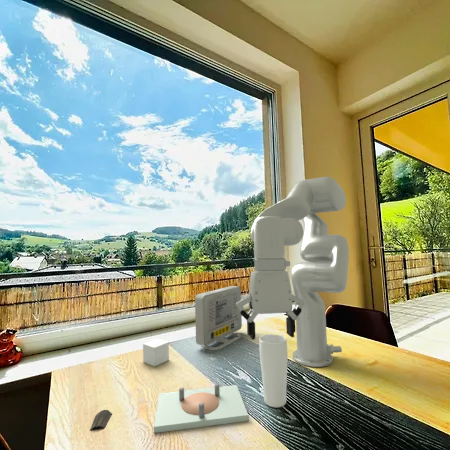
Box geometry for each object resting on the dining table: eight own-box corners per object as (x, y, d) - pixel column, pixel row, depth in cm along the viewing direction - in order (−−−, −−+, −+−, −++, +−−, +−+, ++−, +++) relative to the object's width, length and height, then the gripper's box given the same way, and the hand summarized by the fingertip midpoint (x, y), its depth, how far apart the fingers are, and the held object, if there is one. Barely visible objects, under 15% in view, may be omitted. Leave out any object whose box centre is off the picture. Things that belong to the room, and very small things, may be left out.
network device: (230, 330, 122) (229, 285, 124) (247, 333, 117) (245, 286, 119) (191, 349, 102) (190, 294, 103) (209, 354, 96) (208, 296, 98)
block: (89, 437, 58) (88, 428, 58) (96, 417, 64) (95, 410, 64) (107, 432, 59) (106, 424, 59) (113, 413, 65) (112, 406, 64)
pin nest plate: (236, 389, 73) (236, 375, 73) (248, 420, 60) (247, 403, 60) (159, 398, 69) (159, 383, 70) (153, 432, 57) (153, 414, 57)
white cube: (143, 362, 92) (142, 343, 92) (157, 356, 96) (157, 338, 97) (154, 366, 88) (154, 347, 88) (169, 360, 93) (168, 342, 93)
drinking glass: (258, 395, 69) (256, 334, 70) (284, 393, 70) (282, 333, 71) (264, 411, 63) (262, 344, 64) (293, 409, 63) (290, 342, 64)
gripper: (296, 264, 73) (298, 330, 72) (232, 265, 71) (233, 334, 69) (309, 266, 66) (312, 339, 65) (238, 267, 63) (239, 344, 62)
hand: (271, 336), depth 67 cm, fingers open, 9 cm apart
